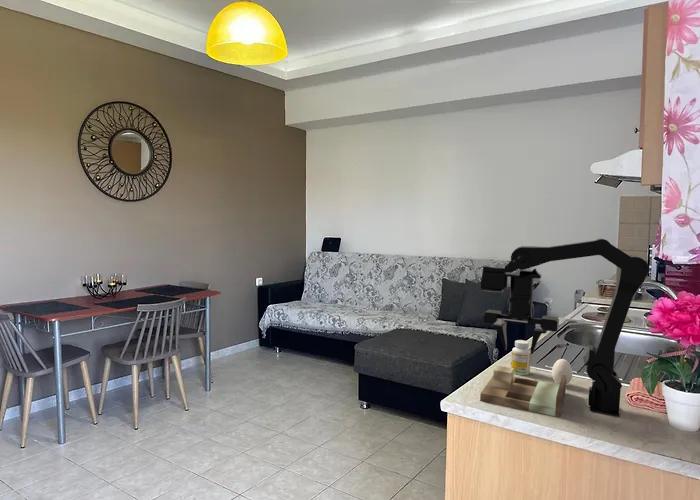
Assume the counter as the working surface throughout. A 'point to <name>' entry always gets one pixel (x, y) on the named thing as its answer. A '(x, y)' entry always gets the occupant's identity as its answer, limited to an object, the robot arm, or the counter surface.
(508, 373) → the birch block
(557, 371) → the egg
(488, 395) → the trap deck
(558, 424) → the counter surface
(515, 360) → the supplement bottle
